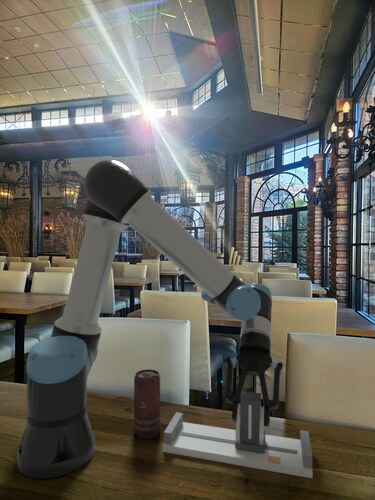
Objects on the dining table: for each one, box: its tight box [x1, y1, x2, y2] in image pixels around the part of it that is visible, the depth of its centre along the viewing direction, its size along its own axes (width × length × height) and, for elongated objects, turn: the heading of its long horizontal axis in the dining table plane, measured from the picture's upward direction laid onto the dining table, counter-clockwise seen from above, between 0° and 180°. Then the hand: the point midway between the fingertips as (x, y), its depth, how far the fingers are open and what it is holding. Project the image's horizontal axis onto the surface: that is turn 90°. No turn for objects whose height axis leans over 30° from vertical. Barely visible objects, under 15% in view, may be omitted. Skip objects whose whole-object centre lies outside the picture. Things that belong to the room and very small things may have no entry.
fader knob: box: [235, 390, 266, 453], centre depth 70 cm, size 6×5×10 cm
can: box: [133, 369, 161, 440], centre depth 78 cm, size 6×6×14 cm
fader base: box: [162, 412, 314, 479], centre depth 71 cm, size 30×10×4 cm, turn 75°
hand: (249, 440), depth 67 cm, fingers closed on fader knob, 4 cm apart
